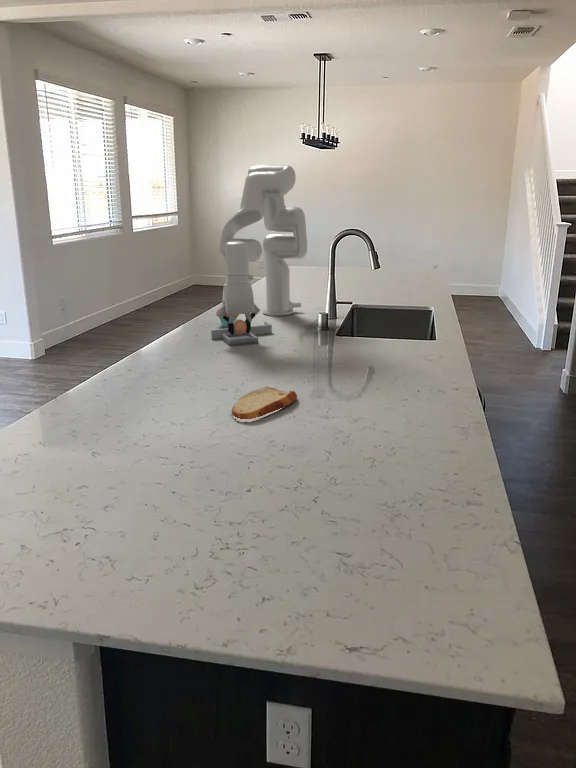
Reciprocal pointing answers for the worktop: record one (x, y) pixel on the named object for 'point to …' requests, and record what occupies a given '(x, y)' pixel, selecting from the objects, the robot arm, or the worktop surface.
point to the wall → (254, 330)
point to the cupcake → (223, 321)
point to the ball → (239, 326)
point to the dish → (239, 338)
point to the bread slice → (262, 402)
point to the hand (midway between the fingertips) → (239, 332)
